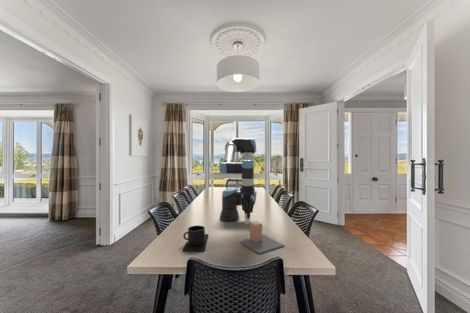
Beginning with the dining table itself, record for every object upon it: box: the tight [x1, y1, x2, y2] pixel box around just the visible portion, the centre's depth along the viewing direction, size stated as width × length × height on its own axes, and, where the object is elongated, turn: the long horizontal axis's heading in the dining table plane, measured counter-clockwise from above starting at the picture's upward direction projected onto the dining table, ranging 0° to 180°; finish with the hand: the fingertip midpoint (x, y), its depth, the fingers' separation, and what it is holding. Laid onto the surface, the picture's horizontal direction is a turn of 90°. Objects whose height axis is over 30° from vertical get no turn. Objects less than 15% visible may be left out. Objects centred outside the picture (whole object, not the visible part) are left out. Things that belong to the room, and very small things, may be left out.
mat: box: [239, 234, 285, 255], centre depth 128 cm, size 18×18×1 cm
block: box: [249, 221, 263, 242], centre depth 133 cm, size 5×5×10 cm
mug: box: [183, 225, 206, 247], centre depth 129 cm, size 9×12×9 cm
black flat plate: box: [181, 233, 209, 253], centre depth 131 cm, size 25×1×15 cm
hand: (247, 223), depth 140 cm, fingers closed
